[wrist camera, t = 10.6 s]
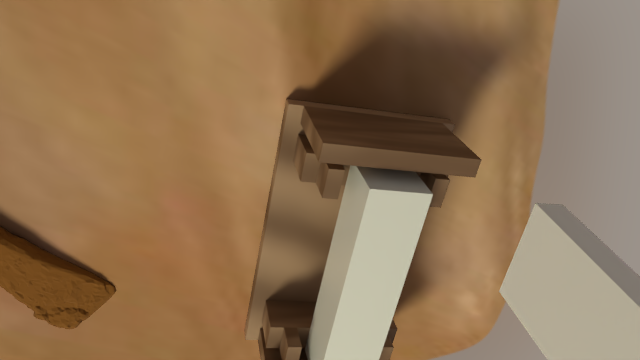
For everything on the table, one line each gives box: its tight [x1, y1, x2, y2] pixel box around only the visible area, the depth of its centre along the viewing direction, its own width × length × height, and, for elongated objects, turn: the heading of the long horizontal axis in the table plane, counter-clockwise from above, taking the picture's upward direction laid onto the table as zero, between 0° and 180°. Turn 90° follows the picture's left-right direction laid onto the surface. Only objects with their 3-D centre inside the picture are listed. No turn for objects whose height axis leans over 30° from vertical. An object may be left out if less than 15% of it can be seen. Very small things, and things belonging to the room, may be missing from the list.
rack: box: [244, 99, 481, 360], centre depth 39 cm, size 20×12×7 cm, turn 169°
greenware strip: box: [305, 165, 433, 360], centre depth 37 cm, size 16×4×4 cm, turn 169°
